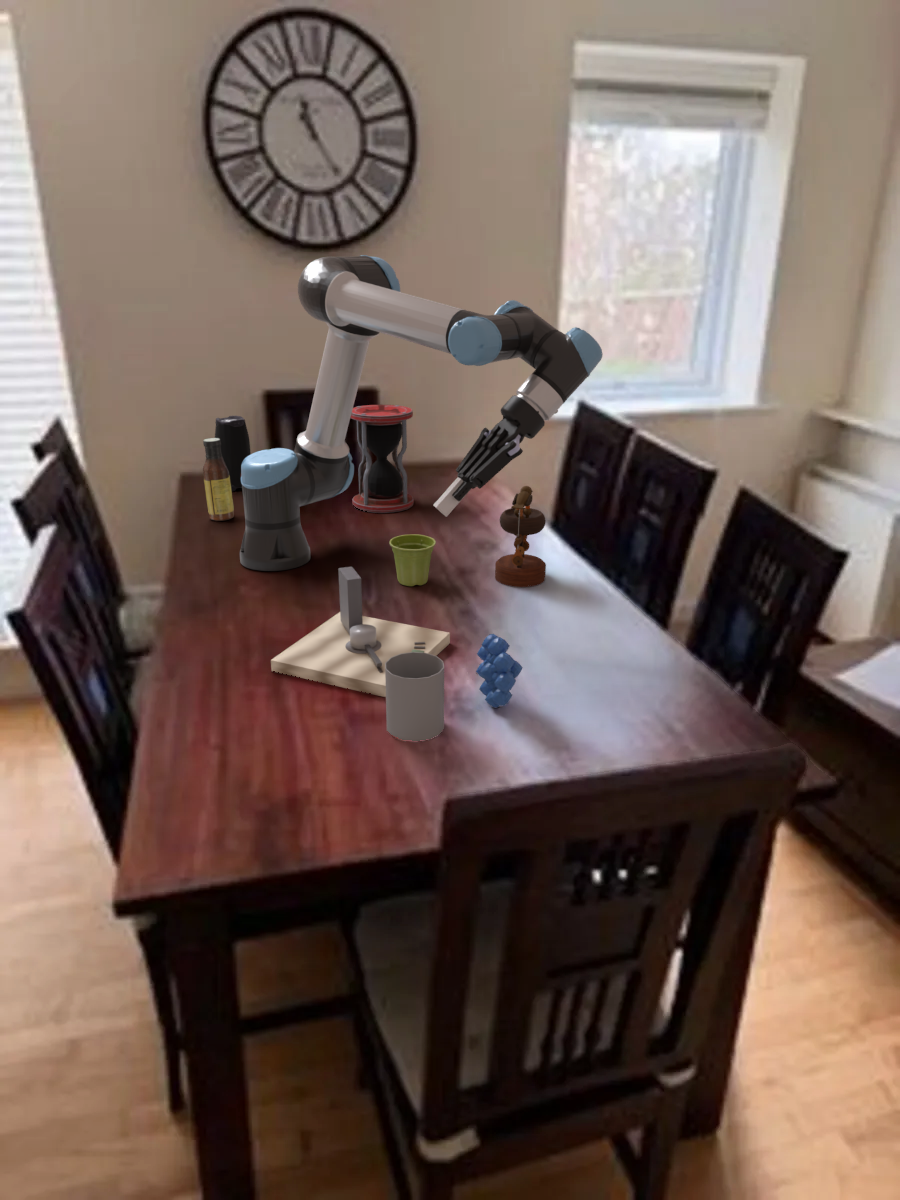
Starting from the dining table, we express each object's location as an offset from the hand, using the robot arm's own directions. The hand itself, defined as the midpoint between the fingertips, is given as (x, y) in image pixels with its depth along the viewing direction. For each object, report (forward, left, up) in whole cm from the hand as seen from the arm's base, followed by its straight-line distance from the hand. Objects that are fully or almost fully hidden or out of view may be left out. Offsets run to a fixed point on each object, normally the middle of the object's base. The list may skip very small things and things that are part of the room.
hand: (439, 510), depth 152 cm
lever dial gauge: (-7, -17, -19) cm, 26 cm away
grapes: (+21, -23, -22) cm, 38 cm away
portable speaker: (-91, +62, -22) cm, 112 cm away
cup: (+12, -34, -22) cm, 42 cm away
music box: (+5, +30, -22) cm, 37 cm away
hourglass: (-46, +65, -22) cm, 83 cm away
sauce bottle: (-77, +37, -22) cm, 88 cm away
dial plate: (-6, -17, -22) cm, 28 cm away
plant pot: (-14, +18, -22) cm, 32 cm away
